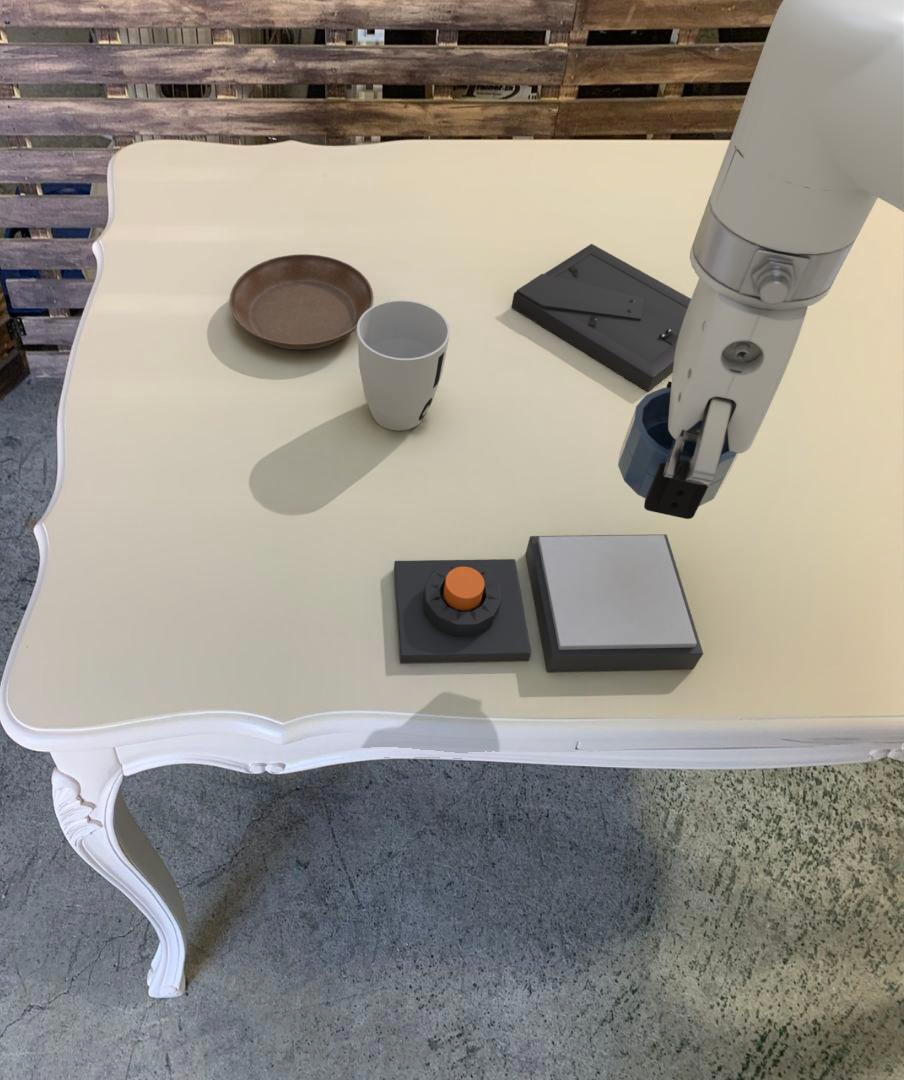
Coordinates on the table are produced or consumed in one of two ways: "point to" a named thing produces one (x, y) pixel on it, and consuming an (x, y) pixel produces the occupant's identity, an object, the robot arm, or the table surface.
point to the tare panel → (459, 614)
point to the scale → (610, 604)
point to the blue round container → (661, 447)
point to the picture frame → (609, 313)
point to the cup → (401, 360)
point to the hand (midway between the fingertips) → (671, 468)
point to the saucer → (301, 300)
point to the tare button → (463, 588)
